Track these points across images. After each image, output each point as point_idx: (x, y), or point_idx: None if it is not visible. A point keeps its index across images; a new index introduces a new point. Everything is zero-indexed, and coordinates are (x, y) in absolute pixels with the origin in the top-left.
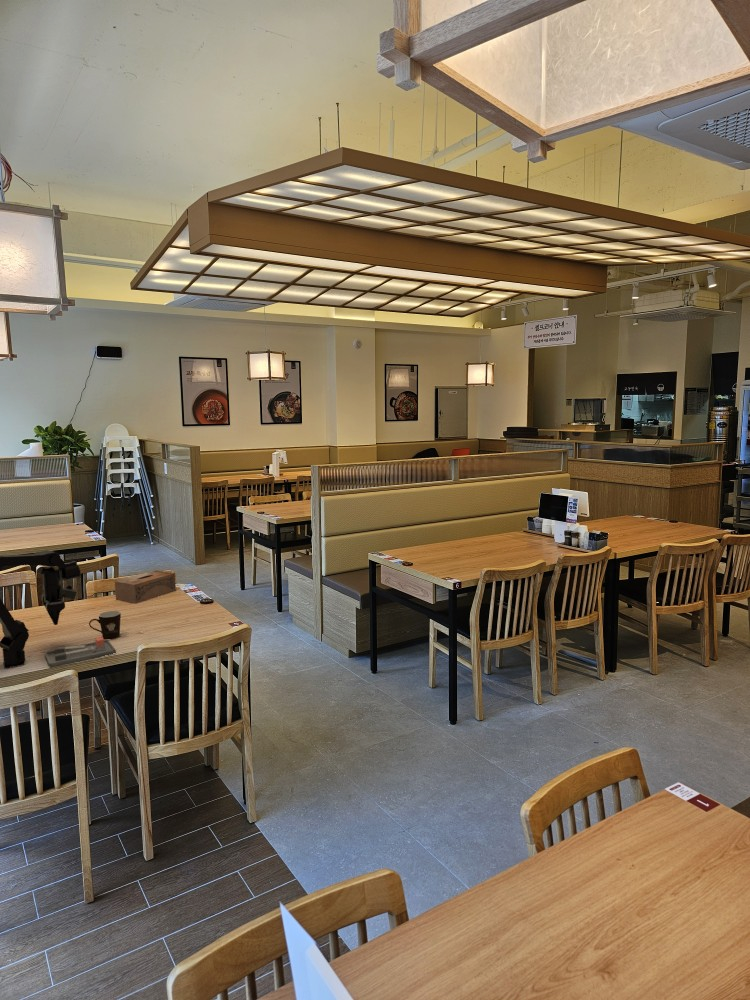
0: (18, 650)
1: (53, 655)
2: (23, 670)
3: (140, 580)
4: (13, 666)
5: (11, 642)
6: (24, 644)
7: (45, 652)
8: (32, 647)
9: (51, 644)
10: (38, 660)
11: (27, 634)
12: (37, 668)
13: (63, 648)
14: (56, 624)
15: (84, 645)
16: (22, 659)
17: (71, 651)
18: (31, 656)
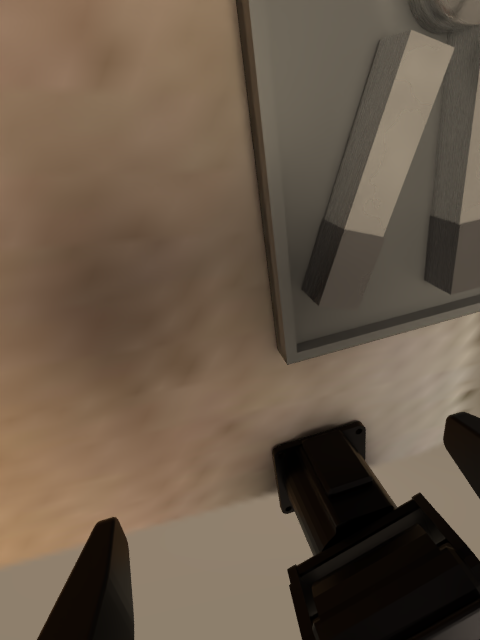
0: (395, 508)
1: None
2: (429, 406)
3: None
4: (363, 458)
5: (307, 590)
6: (437, 514)
7: (295, 357)
8: (48, 452)
9: (13, 347)
10: (330, 369)
11: (468, 571)
12: (448, 351)
13: (375, 244)
14: (466, 423)
15: (406, 43)
16: (353, 448)
17: (472, 175)
18: (237, 418)
